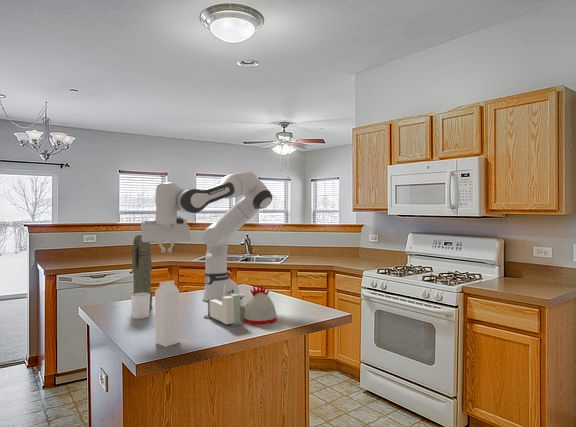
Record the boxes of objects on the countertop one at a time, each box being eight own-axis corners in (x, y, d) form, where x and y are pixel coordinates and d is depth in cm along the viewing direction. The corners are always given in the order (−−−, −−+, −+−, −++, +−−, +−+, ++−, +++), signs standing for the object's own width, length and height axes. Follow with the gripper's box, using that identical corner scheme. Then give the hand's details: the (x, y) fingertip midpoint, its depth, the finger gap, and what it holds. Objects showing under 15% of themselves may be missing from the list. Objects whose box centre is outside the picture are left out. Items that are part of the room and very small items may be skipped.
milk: (179, 342, 145) (179, 281, 145) (165, 347, 140) (164, 283, 140) (169, 339, 149) (169, 279, 149) (155, 343, 144) (154, 281, 144)
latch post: (227, 323, 169) (226, 294, 169) (237, 321, 172) (237, 293, 172) (232, 326, 165) (232, 296, 165) (243, 324, 168) (243, 295, 168)
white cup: (130, 319, 176) (130, 296, 176) (132, 315, 183) (132, 293, 183) (149, 318, 178) (149, 295, 178) (150, 314, 186) (150, 292, 185)
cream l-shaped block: (209, 316, 177) (208, 292, 177) (216, 315, 179) (216, 291, 179) (226, 324, 164) (226, 298, 164) (234, 322, 166) (233, 297, 166)
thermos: (127, 310, 193) (126, 236, 192) (140, 304, 204) (139, 234, 204) (144, 310, 191) (143, 236, 191) (156, 305, 203) (156, 234, 202)
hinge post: (211, 314, 184) (211, 296, 184) (220, 316, 180) (220, 298, 180) (201, 317, 179) (200, 299, 179) (210, 319, 175) (209, 301, 175)
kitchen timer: (240, 317, 178) (240, 283, 178) (270, 314, 183) (270, 281, 183) (248, 326, 165) (248, 289, 165) (280, 322, 170) (280, 286, 170)
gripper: (139, 220, 169) (140, 253, 170) (190, 220, 174) (190, 252, 174) (141, 220, 176) (142, 252, 176) (190, 219, 180) (191, 250, 180)
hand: (166, 252), depth 175 cm, fingers closed
